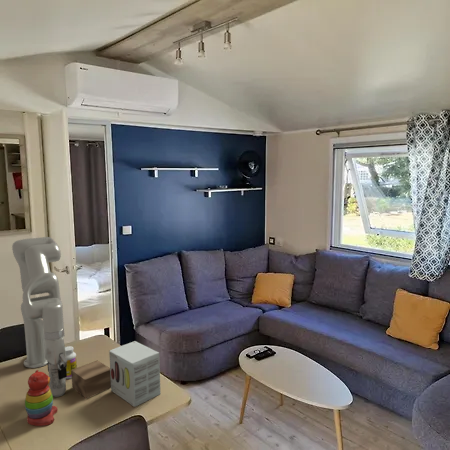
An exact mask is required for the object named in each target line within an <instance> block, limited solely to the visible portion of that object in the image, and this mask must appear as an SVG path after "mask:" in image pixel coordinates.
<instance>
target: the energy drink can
mask: <svg viewBox="0 0 450 450" xmlns="http://www.w3.org/2000/svg"><path fill="white" fill-rule="evenodd" d="M60 361H62V360H60ZM60 361H59V362H60ZM61 365H62V363H61V364H60V366H61ZM48 368H49V372H48V376H49V377H50V382H49V387H50V390H51V393H52V396H53V398H58V397H61V396H64V395H65V393H66V391H67V385H66V383H67V382H66V379H65V378H63V379H58V370H59V368H58V366H57V364H56V365H53V364H52V363H50V362H49V364H47V369H48Z"/></svg>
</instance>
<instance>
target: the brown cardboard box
mask: <svg viewBox="0 0 450 450" xmlns="http://www.w3.org/2000/svg"><path fill="white" fill-rule="evenodd" d="M71 374H72V378H71V386H72V389H73V390H74V391H76V392H77V393H78V394H80V396H82V397H83V398H85V399H88V398H90V397H93V396H96V395H97V394H100V393H101V392H102V393H103V392H104V391H107V390H109V389H111V377H110V366H107V365H106V364H104V363H103V362H101V361H99V360H94V361H92V362H89V363H87V364H84V365H81V366H79V367H78V366H77V368H75V369H73V370H71Z"/></svg>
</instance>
